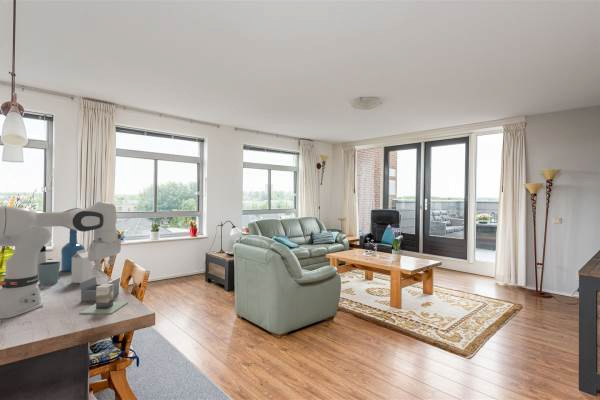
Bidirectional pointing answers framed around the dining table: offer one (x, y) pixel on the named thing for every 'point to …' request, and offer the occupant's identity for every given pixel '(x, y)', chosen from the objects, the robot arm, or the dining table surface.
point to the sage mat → (110, 310)
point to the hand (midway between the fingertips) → (105, 266)
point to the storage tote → (90, 288)
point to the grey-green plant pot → (48, 273)
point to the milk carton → (81, 267)
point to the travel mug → (41, 257)
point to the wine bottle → (70, 251)
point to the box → (104, 296)
